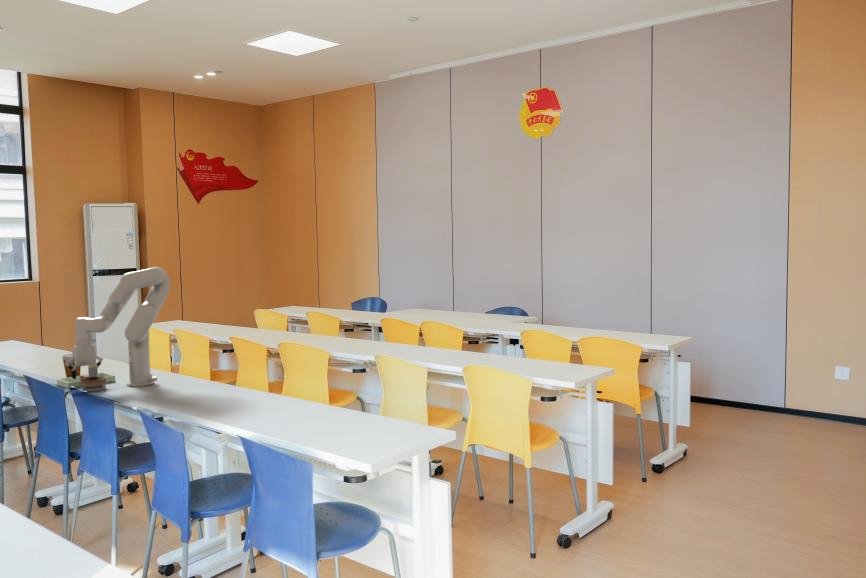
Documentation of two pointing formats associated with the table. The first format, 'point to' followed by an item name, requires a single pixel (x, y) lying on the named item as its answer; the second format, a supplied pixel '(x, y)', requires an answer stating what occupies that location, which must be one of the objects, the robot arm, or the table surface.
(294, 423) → the table surface
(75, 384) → the tray
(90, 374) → the post
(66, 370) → the disposable coffee cup
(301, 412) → the table surface
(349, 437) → the table surface
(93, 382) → the ring
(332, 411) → the table surface
